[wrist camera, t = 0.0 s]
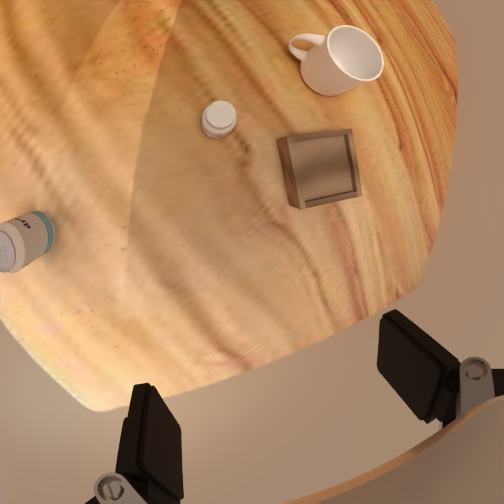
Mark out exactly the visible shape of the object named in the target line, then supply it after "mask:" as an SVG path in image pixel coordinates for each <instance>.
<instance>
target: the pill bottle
mask: <svg viewBox="0 0 504 504" xmlns="http://www.w3.org/2000/svg"><path fill="white" fill-rule="evenodd" d="M236 121H237V114H236V111H235V108H234V107H233V105H232V104H230V103H229V102H227V101H222V100H221V101H216V102H214V103H212V104H210V105H208V106H207V107H206V108H205V110H204V112H203V114H202V129H203V131H204V133H205V134H206V135H207V136H209V137H211V138H215V139H218V138H223V137H225V136H226V135H228V134H229V133H230V131H231V130H232V129H233V128H234V126H235V124H236Z"/></svg>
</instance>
